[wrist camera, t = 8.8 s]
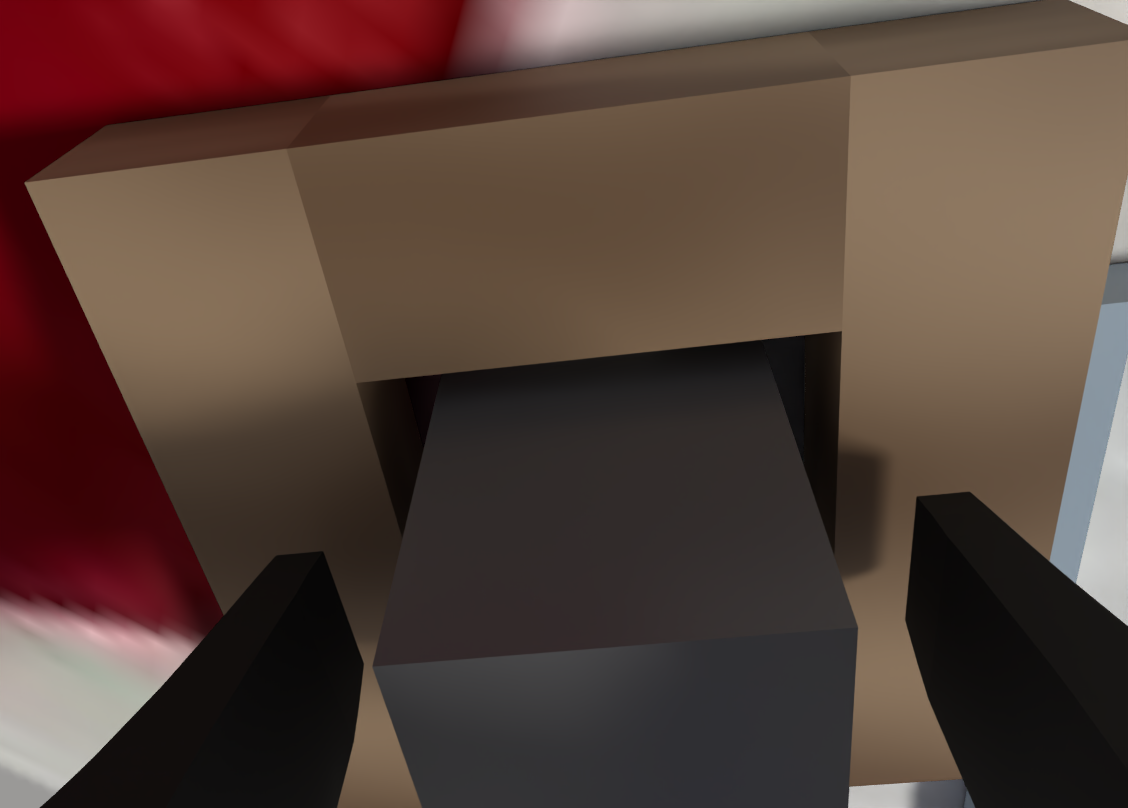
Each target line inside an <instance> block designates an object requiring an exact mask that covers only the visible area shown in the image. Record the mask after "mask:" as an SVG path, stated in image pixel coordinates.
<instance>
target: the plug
mask: <svg viewBox="0 0 1128 808" xmlns="http://www.w3.org/2000/svg"><path fill="white" fill-rule="evenodd" d="M857 640H858V625H857V622H856V619H855V616H854V613H853V610H852V607H851V604H850V601H849V599H848V596H847V593H846V590H845V587H844V584H843V581H842V578H841V575H840V572H839V569H838V566H837V563H836V560H835V557H834V554H833V551H832V548H831V545H830V542H829V539H828V536H827V533H826V530H825V527H824V524H823V521H822V518H821V515H820V512H819V509H818V506H817V504H816V501H815V498H814V495H813V492H812V489H811V486H810V483H809V480H808V477H807V474H806V471H805V468H804V465H803V462H802V459H801V456H800V453H799V450H798V447H797V444H796V441H795V438H794V435H793V432H792V429H791V426H790V423H789V420H788V417H787V414H786V411H785V409H784V406H783V403H782V400H781V397H780V394H779V391H778V388H777V385H776V382H775V379H774V376H773V373H772V370H771V367H770V364H769V361H768V358H767V355H766V352H765V349H764V346H763V343H762V340H754V341H744V342H735V343H726V344H716V345H707V346H698V347H688V348H679V349H670V350H660V351H651V352H642V353H632V354H623V355H614V356H604V357H595V358H586V359H576V360H567V361H558V362H548V363H539V364H529V365H520V366H511V367H501V368H492V369H483V370H473V371H464V372H455V373H445V374H441V378H440V382H439V387H438V391H437V395H436V399H435V404H434V408H433V412H432V416H431V420H430V425H429V429H428V433H427V437H426V442H425V446H424V450H423V454H422V458H421V463H420V467H419V471H418V475H417V480H416V484H415V488H414V492H413V496H412V501H411V505H410V509H409V513H408V518H407V522H406V526H405V530H404V534H403V539H402V543H401V547H400V551H399V556H398V560H397V564H396V568H395V573H394V577H393V581H392V585H391V589H390V594H389V598H388V602H387V606H386V611H385V615H384V619H383V623H382V627H381V632H380V636H379V640H378V644H377V649H376V653H375V657H374V661H373V665H372V668H373V670H374V673H375V676H376V679H377V682H378V685H379V687H380V690H381V693H382V696H383V699H384V702H385V704H386V707H387V710H388V713H389V716H390V719H391V721H392V724H393V727H394V730H395V733H396V736H397V738H398V741H399V744H400V747H401V750H402V753H403V755H404V758H405V761H406V764H407V767H408V770H409V772H410V775H411V778H412V781H413V784H414V787H415V789H416V792H417V795H418V798H419V801H420V804H421V806H422V808H848V798H849V780H850V763H851V745H852V728H853V710H854V693H855V675H856V658H857Z"/></svg>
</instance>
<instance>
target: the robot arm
mask: <svg viewBox="0 0 1128 808" xmlns="http://www.w3.org/2000/svg"><path fill="white" fill-rule="evenodd" d="M905 622H906V625H907V629H908V632H909V636H910V639H911V643H912V646H913V650H914V653H915V657H916V660H917V664H918V667H919V670H920V674H921V677H922V680H923V683H924V687H925V690H926V693H927V696H928V699H929V702H930V704H931V707H932V709H933V711H934V714H935V716H936V719H937V721H938V723H939V726H940V728H941V730H942V732H943V735H944V737H945V739H946V742H947V744H948V746H949V749H950V751H951V753H952V756H953V758H954V760H955V763H956V765H957V767H958V770H959V772H960V774H961V776H962V779H963V781H964V783H965V786H966V788H967V790H968V792H969V795H970V797H971V799H972V802H973V804H974V806H975V808H1128V626H1127V625H1126V624H1125V623H1123V622H1122V621H1121V620H1120V619H1118V618H1117V617H1116V616H1115V615H1113V614H1112V613H1111V612H1110V611H1109V610H1107V609H1106V608H1105V607H1104V606H1102V605H1101V604H1100V603H1099V602H1098V601H1096V600H1095V599H1094V598H1093V597H1091V596H1090V595H1089V594H1088V593H1087V592H1085V591H1084V590H1083V589H1082V588H1080V587H1079V586H1078V585H1077V584H1076V583H1074V582H1073V581H1072V580H1071V579H1070V578H1069V577H1067V576H1066V575H1065V574H1064V573H1063V572H1061V571H1060V570H1059V569H1058V568H1057V567H1056V566H1055V565H1053V564H1052V563H1051V562H1050V561H1049V560H1048V559H1046V558H1045V557H1044V556H1043V555H1042V554H1041V553H1040V552H1038V551H1037V550H1036V549H1035V548H1034V547H1033V546H1032V545H1030V544H1029V543H1028V542H1027V541H1026V540H1025V539H1024V538H1022V537H1021V536H1020V535H1019V534H1018V533H1017V532H1016V531H1015V530H1013V529H1012V528H1011V527H1010V526H1009V525H1008V524H1007V523H1006V522H1004V521H1003V520H1002V519H1001V518H1000V517H999V516H998V515H996V514H995V513H994V512H993V511H992V510H991V509H990V508H988V507H987V506H986V505H985V504H984V503H983V502H982V501H980V500H979V499H978V498H977V497H976V496H975V495H973V494H972V493H971V492H959V493H948V494H937V495H926V496H917V497H916V507H915V518H914V529H913V539H912V550H911V561H910V572H909V582H908V593H907V604H906V614H905ZM363 669H364V662H363V660H362V657H361V654H360V651H359V649H358V646H357V643H356V640H355V637H354V635H353V632H352V629H351V626H350V624H349V621H348V618H347V615H346V613H345V610H344V607H343V604H342V601H341V599H340V596H339V593H338V590H337V588H336V585H335V582H334V579H333V577H332V574H331V571H330V568H329V565H328V563H327V560H326V557H325V554H324V552H323V551H318V552H307V553H296V554H285V555H276V556H275V557H274V558H273V559H272V561H271V562H270V563H269V564H268V565H267V566H266V567H265V568H264V569H263V571H262V572H261V573H260V574H259V575H258V576H257V577H256V579H255V580H254V581H253V582H252V583H251V584H250V586H249V587H248V588H247V589H246V590H245V591H244V593H243V594H242V595H241V596H240V597H239V598H238V600H237V601H236V602H235V603H234V604H233V606H232V607H231V608H230V609H229V610H228V611H227V613H226V614H225V615H224V616H223V617H222V618H221V620H220V621H219V622H218V623H217V624H216V625H215V627H214V628H213V629H212V630H211V631H210V632H209V633H208V635H207V636H206V637H205V638H204V639H203V640H202V641H201V643H200V644H199V645H198V646H197V647H196V648H195V649H194V651H193V652H192V653H191V654H190V655H189V656H188V657H187V658H186V660H185V661H184V662H183V663H182V664H181V665H180V666H179V668H178V669H177V670H176V671H175V672H174V673H173V674H172V675H171V677H170V678H169V679H168V680H167V681H166V682H165V683H164V684H163V685H162V687H161V688H160V689H159V690H158V691H157V692H156V693H155V694H154V695H153V696H152V697H151V698H150V699H149V700H148V701H147V702H146V703H145V704H144V705H143V706H142V708H141V709H140V710H139V711H138V712H137V713H136V714H135V715H134V716H133V717H132V718H131V719H130V720H129V721H128V722H127V723H126V724H125V725H124V726H123V727H122V728H121V729H120V730H119V731H118V733H117V734H116V735H115V736H114V737H113V738H112V739H111V740H110V741H109V742H108V743H107V744H106V745H105V746H104V747H103V748H102V749H101V750H100V751H99V752H98V753H97V754H96V755H95V756H94V757H93V758H92V759H91V760H90V761H89V762H88V763H87V764H86V765H85V766H84V767H83V768H82V769H81V770H80V771H79V772H78V773H77V774H76V775H75V776H74V777H73V778H72V779H71V780H69V781H68V782H67V783H66V784H65V785H64V786H63V787H62V788H61V789H60V790H59V791H58V792H57V793H56V794H55V795H53V796H52V797H51V798H50V799H49V800H48V801H47V802H46V803H45V804H43V805H42V806H41V807H40V808H337V806H338V802H339V798H340V794H341V791H342V787H343V783H344V779H345V775H346V771H347V767H348V763H349V760H350V755H351V751H352V747H353V743H354V738H355V731H356V724H357V717H358V710H359V703H360V694H361V686H362V677H363Z"/></svg>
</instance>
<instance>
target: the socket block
mask: <svg viewBox="0 0 1128 808" xmlns="http://www.w3.org/2000/svg"><path fill="white" fill-rule="evenodd" d="M1127 175H1128V25H1127V24H1124V23H1122V22H1119V21H1117V20H1115V19H1112V18H1110V17H1107V16H1105V15H1103V14H1100V13H1098V12H1095V11H1093V10H1091V9H1088V8H1086V7H1084V6H1081V5H1079V4H1076V3H1074V2H1072V1H1069V0H1042V1H1035V2H1027V3H1020V4H1012V5H1005V6H997V7H990V8H982V9H975V10H967V11H960V12H952V13H945V14H937V15H930V16H922V17H915V18H907V19H900V20H892V21H885V22H877V23H870V24H862V25H855V26H847V27H840V28H832V29H825V30H817V31H810V32H802V33H795V34H787V35H780V36H772V37H765V38H757V39H750V40H742V41H735V42H727V43H720V44H712V45H705V46H697V47H690V48H682V49H675V50H667V51H660V52H652V53H645V54H637V55H630V56H622V57H615V58H607V59H600V60H592V61H585V62H577V63H570V64H562V65H555V66H547V67H540V68H532V69H525V70H517V71H510V72H502V73H495V74H487V75H480V76H472V77H465V78H457V79H450V80H442V81H435V82H427V83H420V84H412V85H405V86H397V87H390V88H382V89H375V90H367V91H360V92H352V93H345V94H338V95H330V96H323V97H315V98H308V99H300V100H293V101H285V102H278V103H270V104H263V105H255V106H248V107H240V108H233V109H225V110H218V111H210V112H203V113H195V114H188V115H180V116H173V117H165V118H158V119H150V120H143V121H135V122H128V123H120V124H113V125H106V126H105V127H103V128H102V129H100V130H99V131H98V132H96V133H95V134H93V135H92V136H90V137H89V138H87V139H86V140H85V141H83V142H82V143H80V144H79V145H77V146H76V147H75V148H73V149H72V150H70V151H69V152H67V153H66V154H65V155H63V156H62V157H60V158H59V159H57V160H56V161H55V162H53V163H52V164H50V165H49V166H47V167H46V168H45V169H43V170H42V171H40V172H39V173H37V174H36V175H35V176H33V177H32V178H30V179H29V180H27V181H26V182H25V185H26V187H27V189H28V192H29V194H30V196H31V198H32V200H33V203H34V205H35V207H36V209H37V211H38V213H39V216H40V218H41V220H42V222H43V224H44V226H45V229H46V231H47V233H48V235H49V237H50V239H51V242H52V244H53V246H54V248H55V250H56V252H57V255H58V257H59V259H60V261H61V263H62V265H63V268H64V270H65V272H66V274H67V276H68V278H69V281H70V283H71V285H72V287H73V289H74V291H75V294H76V296H77V298H78V300H79V302H80V304H81V307H82V309H83V311H84V313H85V315H86V317H87V320H88V322H89V324H90V326H91V328H92V330H93V333H94V335H95V337H96V339H97V341H98V344H99V346H100V348H101V350H102V352H103V354H104V357H105V359H106V361H107V363H108V365H109V367H110V370H111V372H112V374H113V376H114V378H115V380H116V383H117V385H118V387H119V389H120V391H121V393H122V396H123V398H124V400H125V402H126V404H127V406H128V409H129V411H130V413H131V415H132V417H133V419H134V422H135V424H136V426H137V428H138V430H139V432H140V435H141V437H142V439H143V441H144V443H145V445H146V448H147V450H148V452H149V454H150V456H151V458H152V461H153V463H154V465H155V467H156V469H157V472H158V474H159V476H160V478H161V480H162V482H163V485H164V487H165V489H166V491H167V493H168V495H169V498H170V500H171V502H172V504H173V506H174V508H175V511H176V513H177V515H178V517H179V519H180V521H181V524H182V526H183V528H184V530H185V532H186V534H187V537H188V539H189V541H190V543H191V545H192V547H193V550H194V552H195V554H196V556H197V558H198V560H199V563H200V565H201V567H202V569H203V571H204V573H205V576H206V578H207V580H208V582H209V584H210V586H211V589H212V591H213V593H214V595H215V597H216V600H217V602H218V604H219V606H220V608H221V610H222V613H223V615H225V614H226V613H227V611H228V610H229V609H230V608H231V607H232V606H233V604H234V603H235V602H236V601H237V600H238V598H239V597H240V596H241V595H242V594H243V593H244V591H245V590H246V589H247V588H248V587H249V586H250V584H251V583H252V582H253V581H254V580H255V579H256V577H257V576H258V575H259V574H260V573H261V572H262V571H263V569H264V568H265V567H266V566H267V565H268V564H269V563H270V562H271V561H272V559H273V558H274V557H275V556H276V555H285V554H296V553H307V552H318V551H323V552H324V554H325V557H326V560H327V563H328V565H329V568H330V571H331V574H332V577H333V579H334V582H335V585H336V588H337V590H338V593H339V596H340V599H341V601H342V604H343V607H344V610H345V613H346V615H347V618H348V621H349V624H350V626H351V629H352V632H353V635H354V637H355V640H356V643H357V646H358V649H359V651H360V654H361V657H362V660H363V662H364V669H363V677H362V686H361V694H360V703H359V710H358V717H357V724H356V731H355V738H354V743H353V747H352V751H351V755H350V760H349V763H348V767H347V771H346V775H345V779H344V783H343V787H342V791H341V794H340V798H339V802H338V806H337V808H422V806H421V804H420V801H419V798H418V795H417V792H416V789H415V787H414V784H413V781H412V778H411V775H410V772H409V770H408V767H407V764H406V761H405V758H404V755H403V753H402V750H401V747H400V744H399V741H398V738H397V736H396V733H395V730H394V727H393V724H392V721H391V719H390V716H389V713H388V710H387V707H386V704H385V702H384V699H383V696H382V693H381V690H380V687H379V685H378V682H377V679H376V676H375V673H374V670H373V668H372V665H373V661H374V657H375V653H376V649H377V644H378V640H379V636H380V632H381V627H382V623H383V619H384V615H385V611H386V606H387V602H388V598H389V594H390V589H391V585H392V581H393V577H394V573H395V568H396V564H397V560H398V556H399V551H400V547H401V543H402V539H403V534H404V530H405V526H406V522H407V518H408V513H409V509H410V505H411V501H412V496H413V492H414V488H415V484H416V480H417V475H418V471H419V467H420V463H421V458H422V454H423V450H424V449H423V445H422V442H421V438H420V434H419V430H418V426H417V422H416V419H415V415H414V411H413V407H412V403H411V400H410V396H409V392H408V388H407V384H406V381H405V378H408V377H417V376H427V375H436V374H445V373H455V372H464V371H473V370H483V369H492V368H501V367H511V366H520V365H529V364H539V363H548V362H558V361H567V360H576V359H586V358H595V357H604V356H614V355H623V354H632V353H642V352H651V351H660V350H670V349H679V348H688V347H698V346H707V345H716V344H726V343H735V342H744V341H754V340H763V339H772V338H782V337H791V336H801V335H805V393H804V468H805V471H806V474H807V477H808V480H809V483H810V486H811V489H812V492H813V495H814V498H815V501H816V504H817V506H818V509H819V512H820V515H821V518H822V521H823V524H824V527H825V530H826V533H827V536H828V539H829V542H830V545H831V548H832V551H833V554H834V557H835V560H836V563H837V566H838V569H839V572H840V575H841V578H842V581H843V584H844V587H845V590H846V593H847V596H848V599H849V601H850V604H851V607H852V610H853V613H854V616H855V619H856V622H857V625H858V640H857V658H856V675H855V693H854V710H853V728H852V745H851V763H850V780H849V787H851V786H866V785H880V784H895V783H910V782H925V781H940V780H955V779H962V776H961V774H960V772H959V770H958V767H957V765H956V763H955V760H954V758H953V756H952V753H951V751H950V749H949V746H948V744H947V742H946V739H945V737H944V735H943V732H942V730H941V728H940V726H939V723H938V721H937V719H936V716H935V714H934V711H933V709H932V707H931V704H930V702H929V699H928V696H927V693H926V690H925V687H924V683H923V680H922V677H921V674H920V670H919V667H918V664H917V660H916V657H915V653H914V650H913V646H912V643H911V639H910V636H909V632H908V629H907V625H906V622H905V614H906V604H907V593H908V582H909V572H910V561H911V550H912V539H913V529H914V518H915V507H916V497H917V496H926V495H937V494H948V493H959V492H971V493H972V494H973V495H975V496H976V497H977V498H978V499H979V500H980V501H982V502H983V503H984V504H985V505H986V506H987V507H988V508H990V509H991V510H992V511H993V512H994V513H995V514H996V515H998V516H999V517H1000V518H1001V519H1002V520H1003V521H1004V522H1006V523H1007V524H1008V525H1009V526H1010V527H1011V528H1012V529H1013V530H1015V531H1016V532H1017V533H1018V534H1019V535H1020V536H1021V537H1022V538H1024V539H1025V540H1026V541H1027V542H1028V543H1029V544H1030V545H1032V546H1033V547H1034V548H1035V549H1036V550H1037V551H1038V552H1040V553H1041V554H1042V555H1043V556H1044V557H1045V558H1046V559H1048V560H1049V561H1050V556H1051V551H1052V547H1053V542H1054V537H1055V532H1056V527H1057V522H1058V517H1059V512H1060V507H1061V502H1062V497H1063V492H1064V487H1065V482H1066V477H1067V472H1068V467H1069V462H1070V457H1071V452H1072V448H1073V443H1074V438H1075V433H1076V428H1077V423H1078V418H1079V413H1080V408H1081V403H1082V398H1083V393H1084V388H1085V383H1086V378H1087V373H1088V368H1089V363H1090V358H1091V353H1092V349H1093V344H1094V339H1095V334H1096V329H1097V324H1098V319H1099V314H1100V309H1101V304H1102V299H1103V294H1104V289H1105V284H1106V279H1107V274H1108V269H1109V264H1110V259H1111V254H1112V250H1113V245H1114V240H1115V235H1116V230H1117V225H1118V220H1119V215H1120V210H1121V205H1122V200H1123V195H1124V190H1125V185H1126V180H1127Z"/></svg>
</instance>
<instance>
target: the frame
mask: <svg viewBox="0 0 1128 808" xmlns="http://www.w3.org/2000/svg"><path fill="white" fill-rule="evenodd" d="M1127 355H1128V263H1122V264H1113V265H1109V269H1108V274H1107V279H1106V284H1105V289H1104V294H1103V299H1102V304H1101V309H1100V314H1099V319H1098V324H1097V329H1096V334H1095V339H1094V344H1093V349H1092V353H1091V358H1090V363H1089V368H1088V373H1087V378H1086V383H1085V388H1084V393H1083V398H1082V403H1081V408H1080V413H1079V418H1078V423H1077V428H1076V433H1075V438H1074V443H1073V448H1072V452H1071V457H1070V462H1069V467H1068V472H1067V477H1066V482H1065V487H1064V492H1063V497H1062V502H1061V507H1060V512H1059V517H1058V522H1057V527H1056V532H1055V537H1054V542H1053V547H1052V551H1051V556H1050V562H1051V563H1052V564H1053V565H1055V566H1056V567H1057V568H1058V569H1059V570H1060V571H1061V572H1063V573H1064V574H1065V575H1066V576H1067V577H1069V578H1070V579H1071V580H1072V581H1073V582H1074V583H1076V580H1077V576H1078V571H1079V567H1080V563H1081V558H1082V554H1083V549H1084V545H1085V540H1086V536H1087V532H1088V527H1089V523H1090V518H1091V514H1092V510H1093V505H1094V501H1095V496H1096V492H1097V487H1098V483H1099V479H1100V474H1101V470H1102V465H1103V461H1104V457H1105V452H1106V448H1107V443H1108V439H1109V434H1110V430H1111V426H1112V421H1113V417H1114V412H1115V408H1116V404H1117V399H1118V395H1119V390H1120V386H1121V381H1122V377H1123V373H1124V368H1125V364H1126V359H1127ZM964 808H975V806H974V804H973V802H972V799H971V797H970V795H969V792H968V790H967V791H966V797H965V803H964Z"/></svg>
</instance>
